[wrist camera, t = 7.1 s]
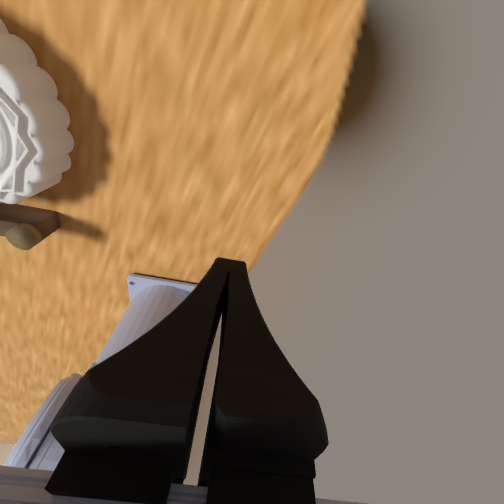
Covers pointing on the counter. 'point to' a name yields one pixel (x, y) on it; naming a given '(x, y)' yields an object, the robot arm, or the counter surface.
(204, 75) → the counter surface
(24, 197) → the mooncake
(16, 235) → the lid holder
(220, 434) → the robot arm
